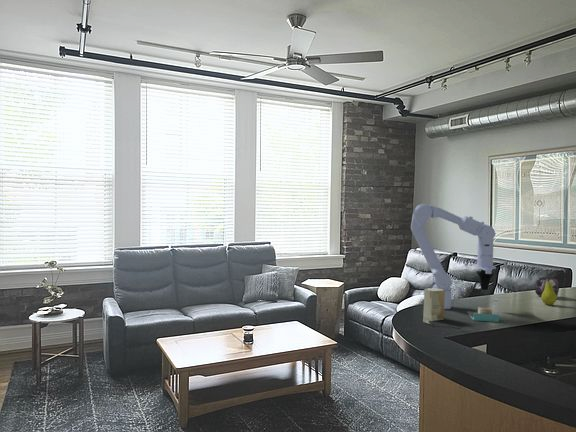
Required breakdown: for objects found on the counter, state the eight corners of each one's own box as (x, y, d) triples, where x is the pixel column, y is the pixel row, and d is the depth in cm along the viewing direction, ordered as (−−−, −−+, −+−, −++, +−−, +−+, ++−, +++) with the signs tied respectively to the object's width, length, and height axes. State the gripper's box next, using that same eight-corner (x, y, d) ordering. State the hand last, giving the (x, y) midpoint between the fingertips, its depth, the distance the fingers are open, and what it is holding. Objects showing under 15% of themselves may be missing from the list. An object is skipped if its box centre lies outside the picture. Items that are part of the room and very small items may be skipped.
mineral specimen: (532, 294, 215) (534, 273, 218) (536, 299, 223) (537, 279, 226) (557, 296, 209) (558, 275, 212) (559, 301, 217) (560, 281, 220)
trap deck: (466, 315, 179) (467, 305, 179) (489, 316, 178) (490, 306, 177) (473, 324, 165) (473, 313, 165) (498, 326, 164) (499, 315, 164)
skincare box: (431, 325, 164) (432, 290, 163) (422, 322, 168) (423, 288, 167) (444, 323, 167) (445, 289, 166) (435, 320, 171) (436, 287, 170)
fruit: (559, 306, 197) (560, 278, 197) (545, 306, 197) (546, 278, 197) (551, 303, 203) (552, 276, 203) (538, 303, 203) (539, 276, 203)
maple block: (480, 320, 166) (480, 309, 166) (477, 317, 170) (478, 306, 170) (491, 320, 165) (492, 309, 165) (489, 318, 169) (489, 307, 169)
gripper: (500, 257, 175) (499, 293, 175) (491, 253, 189) (491, 286, 189) (480, 257, 176) (479, 292, 177) (473, 253, 190) (472, 286, 191)
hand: (484, 289), depth 183 cm, fingers closed
